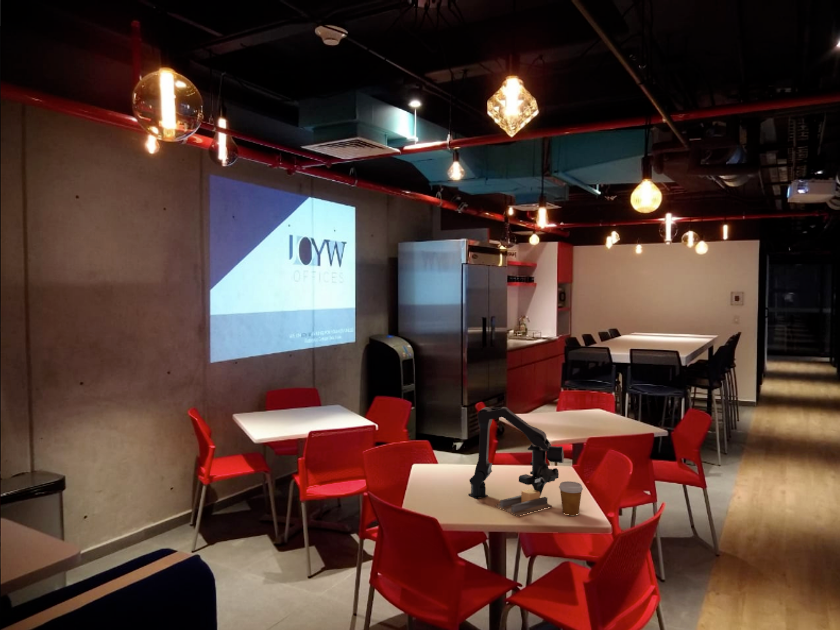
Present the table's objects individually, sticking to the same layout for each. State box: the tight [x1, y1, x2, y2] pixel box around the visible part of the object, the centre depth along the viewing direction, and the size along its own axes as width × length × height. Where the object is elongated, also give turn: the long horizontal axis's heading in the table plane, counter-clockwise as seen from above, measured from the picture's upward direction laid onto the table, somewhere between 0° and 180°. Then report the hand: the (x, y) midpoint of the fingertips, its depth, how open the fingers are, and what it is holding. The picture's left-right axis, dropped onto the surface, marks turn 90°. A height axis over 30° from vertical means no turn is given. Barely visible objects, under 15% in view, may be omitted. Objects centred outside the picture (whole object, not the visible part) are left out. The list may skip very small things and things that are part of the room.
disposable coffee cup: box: [558, 480, 584, 515], centre depth 241 cm, size 10×10×12 cm
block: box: [520, 488, 541, 503], centre depth 251 cm, size 5×6×5 cm
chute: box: [495, 494, 553, 517], centre depth 248 cm, size 14×19×4 cm
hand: (538, 496), depth 253 cm, fingers closed
